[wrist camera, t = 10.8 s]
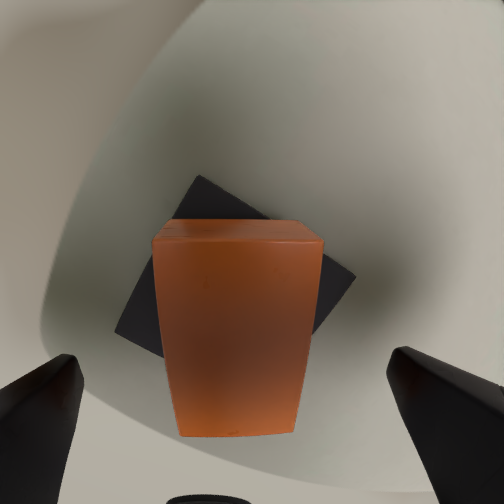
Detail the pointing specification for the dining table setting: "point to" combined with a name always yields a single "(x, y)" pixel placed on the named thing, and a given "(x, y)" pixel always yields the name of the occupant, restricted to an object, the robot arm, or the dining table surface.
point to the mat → (214, 207)
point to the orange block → (236, 321)
